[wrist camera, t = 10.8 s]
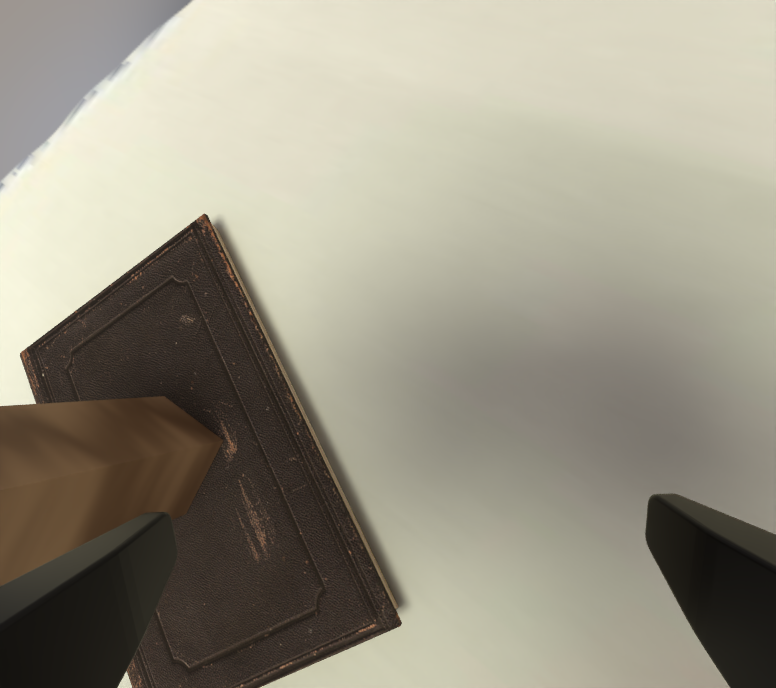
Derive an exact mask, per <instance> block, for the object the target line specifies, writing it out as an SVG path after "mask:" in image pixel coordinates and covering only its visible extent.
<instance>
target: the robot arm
mask: <svg viewBox="0 0 776 688" xmlns="http://www.w3.org/2000/svg"><path fill="white" fill-rule="evenodd" d="M645 535H646V541H647V545H648V547H649V550H650V551H651V553H652V555H653V557H654V559H655V561H656V563H657V565H658V566H659V568H660V570H661V572H662V574H663V576H664V578H665V579H666V581H667V583H668V585H669V587H670V589H671V591H672V593H673V594H674V596H675V598H676V600H677V602H678V604H679V606H680V607H681V609H682V611H683V613H684V615H685V617H686V619H687V620H688V622H689V624H690V626H691V627H692V629H693V631H694V633H695V634H696V636H697V637H698V639H699V640H700V642H701V644H702V645H703V647H704V648H705V650H706V651H707V653H708V654H709V656H710V657H711V659H712V661H713V662H714V664H715V665H716V667H717V668H718V670H719V671H720V673H721V674H722V676H723V677H724V679H725V680H726V682H727V683H728V685H729V686H730V688H776V535H775V534H773V533H770V532H768V531H765V530H763V529H761V528H758V527H756V526H753V525H751V524H748V523H746V522H744V521H741V520H739V519H736V518H734V517H731V516H729V515H726V514H724V513H722V512H719V511H717V510H714V509H712V508H709V507H707V506H704V505H702V504H700V503H697V502H695V501H692V500H690V499H687V498H685V497H682V496H680V495H677V494H654V495H652V496H651V497H650V498H649V501H648V509H647V521H646V532H645ZM176 559H177V544H176V539H175V533H174V528H173V523H172V519H171V516H170V514H168V513H167V512H148V513H144V514H142V515H140V516H138V517H136V518H134V519H132V520H130V521H128V522H126V523H124V524H122V525H120V526H118V527H116V528H114V529H112V530H110V531H108V532H106V533H104V534H102V535H100V536H98V537H96V538H94V539H93V540H91V541H89V542H87V543H85V544H83V545H81V546H79V547H77V548H75V549H73V550H71V551H69V552H67V553H65V554H63V555H61V556H59V557H57V558H55V559H53V560H51V561H49V562H47V563H45V564H43V565H41V566H39V567H37V568H35V569H33V570H31V571H29V572H27V573H25V574H23V575H21V576H19V577H17V578H16V579H14V580H12V581H10V582H8V583H6V584H4V585H2V586H0V688H117V687H118V685H119V684H120V682H121V680H122V678H123V676H124V674H125V672H126V671H127V669H128V667H129V665H130V663H131V661H132V659H133V657H134V655H135V654H136V652H137V650H138V648H139V646H140V644H141V641H142V639H143V637H144V635H145V633H146V631H147V628H148V626H149V624H150V621H151V619H152V617H153V614H154V612H155V610H156V607H157V605H158V603H159V600H160V598H161V596H162V593H163V591H164V589H165V586H166V584H167V582H168V579H169V577H170V575H171V572H172V570H173V568H174V565H175V563H176Z"/></svg>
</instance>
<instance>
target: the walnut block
mask: <svg viewBox="0 0 776 688" xmlns="http://www.w3.org/2000/svg"><path fill="white" fill-rule="evenodd" d="M222 442H223V440H222V439H221V438H220V437H218V436H217V435H216V434H214V433H213V432H212V431H210V430H209V429H208V428H206V427H205V426H204V425H202V424H201V423H200V422H198V421H197V420H196V419H194V418H193V417H191V416H190V415H189V414H187V413H186V412H185V411H183V410H182V409H181V408H179V407H178V406H177V405H175V404H174V403H173V402H171V401H170V400H169V399H167V398H166V397H165V396H158V397H142V398H126V399H110V400H94V401H78V402H62V403H46V404H30V405H13V406H0V586H2V585H4V584H6V583H8V582H10V581H12V580H14V579H16V578H17V577H19V576H21V575H23V574H25V573H27V572H29V571H31V570H33V569H35V568H37V567H39V566H41V565H43V564H45V563H47V562H49V561H51V560H53V559H55V558H57V557H59V556H61V555H63V554H65V553H67V552H69V551H71V550H73V549H75V548H77V547H79V546H81V545H83V544H85V543H87V542H89V541H91V540H93V539H94V538H96V537H98V536H100V535H102V534H104V533H106V532H108V531H110V530H112V529H114V528H116V527H118V526H120V525H122V524H124V523H126V522H128V521H130V520H132V519H134V518H136V517H138V516H140V515H142V514H144V513H148V512H167V513H168V514H170V516H171V519H172V520H173V519H175V518H178V517H180V516H182V515H185V514H186V513H187V511H188V509H189V507H190V505H191V503H192V501H193V499H194V497H195V495H196V493H197V491H198V489H199V487H200V486H201V484H202V482H203V480H204V478H205V476H206V474H207V472H208V470H209V468H210V466H211V464H212V462H213V460H214V458H215V456H216V454H217V452H218V450H219V448H220V446H221V444H222Z"/></svg>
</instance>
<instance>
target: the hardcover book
mask: <svg viewBox="0 0 776 688" xmlns="http://www.w3.org/2000/svg"><path fill="white" fill-rule="evenodd" d="M20 357H21V360H22V363H23V366H24V369H25V372H26V375H27V378H28V380H29V383H30V386H31V389H32V392H33V395H34V398H35V401H36V404H46V403H62V402H78V401H94V400H110V399H126V398H142V397H158V396H165V397H166V398H167V399H169V400H170V401H171V402H173V403H174V404H175V405H177V406H178V407H179V408H181V409H182V410H183V411H185V412H186V413H187V414H189V415H190V416H191V417H193V418H194V419H196V420H197V421H198V422H200V423H201V424H202V425H204V426H205V427H206V428H208V429H209V430H210V431H212V432H213V433H214V434H216V435H217V436H218V437H220V438H221V439H222V440H223V442H222V444H221V446H220V448H219V450H218V452H217V454H216V456H215V458H214V460H213V462H212V464H211V466H210V468H209V470H208V472H207V474H206V476H205V478H204V480H203V482H202V484H201V486H200V487H199V489H198V491H197V493H196V495H195V497H194V499H193V501H192V503H191V505H190V507H189V509H188V511H187V513H186V514H185V515H182V516H180V517H178V518H175V519H173V520H172V523H173V528H174V533H175V539H176V544H177V559H176V563H175V565H174V568H173V570H172V572H171V575H170V577H169V579H168V582H167V584H166V586H165V589H164V591H163V593H162V596H161V598H160V600H159V603H158V605H157V607H156V610H155V612H154V614H153V617H152V619H151V621H150V624H149V626H148V628H147V631H146V633H145V635H144V637H143V639H142V641H141V644H140V646H139V648H138V650H137V652H136V654H135V655H134V657H133V659H132V661H131V663H130V665H129V667H128V669H127V673H128V676H129V679H130V682H131V685H132V688H259V687H262V686H264V685H266V684H269V683H271V682H273V681H275V680H278V679H280V678H282V677H285V676H287V675H289V674H292V673H294V672H296V671H298V670H301V669H303V668H305V667H308V666H310V665H312V664H314V663H317V662H319V661H321V660H324V659H326V658H328V657H331V656H333V655H335V654H337V653H340V652H342V651H344V650H347V649H349V648H351V647H353V646H356V645H358V644H360V643H363V642H365V641H367V640H370V639H372V638H374V637H376V636H379V635H381V634H383V633H386V632H388V631H390V630H393V629H395V628H397V627H399V626H401V624H402V622H401V620H400V618H399V616H398V614H397V612H396V608H398V605H397V603H396V601H395V599H394V597H393V595H392V593H391V591H390V589H389V587H388V585H387V583H386V580H385V578H384V576H383V574H382V572H381V570H380V568H379V566H378V564H377V562H376V560H375V557H374V555H373V553H372V551H371V549H370V547H369V545H368V543H367V541H366V539H365V537H364V535H363V532H362V530H361V528H360V526H359V524H358V522H357V520H356V518H355V516H354V514H353V512H352V509H351V507H350V505H349V503H348V501H347V499H346V497H345V495H344V493H343V491H342V489H341V487H340V484H339V482H338V480H337V478H336V476H335V474H334V472H333V470H332V468H331V466H330V464H329V461H328V459H327V457H326V455H325V453H324V451H323V449H322V447H321V445H320V443H319V441H318V439H317V436H316V434H315V432H314V430H313V428H312V426H311V424H310V422H309V420H308V418H307V416H306V413H305V411H304V409H303V407H302V405H301V403H300V401H299V399H298V397H297V395H296V393H295V391H294V388H293V386H292V384H291V382H290V380H289V378H288V376H287V374H286V372H285V370H284V368H283V365H282V363H281V361H280V359H279V357H278V355H277V353H276V351H275V349H274V347H273V345H272V343H271V340H270V338H269V336H268V334H267V332H266V330H265V328H264V326H263V324H262V322H261V320H260V317H259V315H258V313H257V311H256V309H255V307H254V305H253V303H252V301H251V299H250V297H249V295H248V292H247V290H246V288H245V286H244V284H243V282H242V280H241V278H240V276H239V274H238V272H237V269H236V267H235V265H234V263H233V261H232V259H231V257H230V255H229V253H228V251H227V249H226V247H225V244H224V242H223V240H222V238H221V236H220V234H219V232H218V230H217V229H216V228H215V227H214V225H213V226H212V224H211V222H210V220H209V218H208V216H207V215H206V214H203V215H202V216H200V217H199V218H198V219H196V220H195V221H194V222H192V223H191V224H190V225H189V226H187V227H186V228H185V229H183V230H182V231H181V232H179V233H178V234H177V235H175V236H174V237H173V238H171V239H170V240H169V241H167V242H166V243H165V244H163V245H162V246H161V247H159V248H158V249H157V250H156V251H154V252H153V253H152V254H150V255H149V256H148V257H146V258H145V259H144V260H142V261H141V262H140V263H138V264H137V265H136V266H134V267H133V268H132V269H130V270H129V271H128V272H126V273H125V274H124V275H123V276H121V277H120V278H119V279H117V280H116V281H115V282H113V283H112V284H111V285H109V286H108V287H107V288H105V289H104V290H103V291H101V292H100V293H99V294H97V295H96V296H95V297H93V298H92V299H91V300H90V301H88V302H87V303H86V304H84V305H83V306H82V307H80V308H79V309H78V310H76V311H75V312H74V313H72V314H71V315H70V316H68V317H67V318H66V319H64V320H63V321H62V322H60V323H59V324H58V325H57V326H55V327H54V328H53V329H51V330H50V331H49V332H47V333H46V334H45V335H43V336H42V337H41V338H39V339H38V340H37V341H35V342H34V343H33V344H31V345H30V346H29V347H27V348H26V349H25V350H24V351H22V352H21V353H20Z"/></svg>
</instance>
